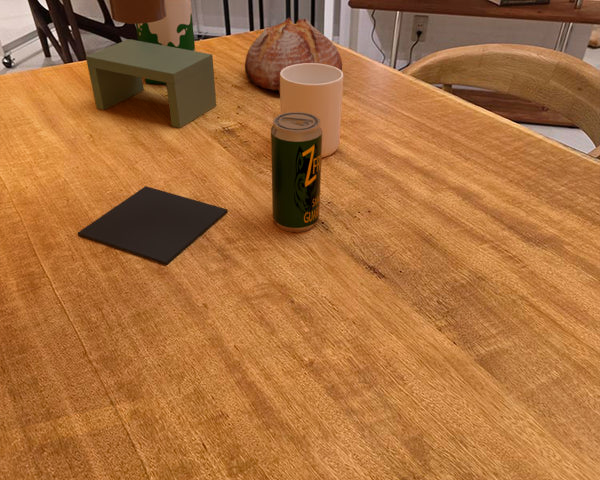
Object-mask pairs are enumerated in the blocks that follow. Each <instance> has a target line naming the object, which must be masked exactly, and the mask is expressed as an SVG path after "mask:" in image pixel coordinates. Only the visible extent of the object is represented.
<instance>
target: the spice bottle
mask: <svg viewBox="0 0 600 480" xmlns="http://www.w3.org/2000/svg"><path fill="white" fill-rule="evenodd" d="M107 2H108V6H109V12H110V17H111V19H112V21H114V22H117V23H120V24H121V23H122V24H129V25H136V24H141V23H150V22H155V21H159V20H162V19H164V18H165V17H166V8H165V0H108V1H107Z"/></svg>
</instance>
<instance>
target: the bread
mask: <svg viewBox="0 0 600 480" xmlns="http://www.w3.org/2000/svg"><path fill="white" fill-rule="evenodd" d="M303 63H317V64H325V65H330V66H333V67H336V68H338V69H340V70H341V71H342V72H343V60H342V57H341V55H340V52H339V50H338V48H337V46H336V45H335V43H333V41H331V40H330V39H329V38H328V36H326V35H324V34H323V33H322V32H321V31H319V30H318V29H317V28H316V27H314V26H313V25H312V24H311V22H310V21H309V20H308V19H307V18H306V17H305V18H304V19H302V18H299V19H297V20H296V23H294V22H293V20H292V18H291V17H289V16H288V17H287V18H286V19H285V20H284V21H283V22H281V23H278V24H277V25H272V26H271V27H270V28H265V29H264V30H263V31H262V32H261V34H260V35H259V36H257V37H256V39H255V40H254V41H253V42H252V43H251V45H250V46H249V48H248V51H247V53H246V56H245V61H244V71H245V74H246V76H247V78H248V79H249V80H250V81H251V83H253V84H254V85H256V86H259V87H261V88H264V89H266V90H267V89H270V91H274V92H278V93H279V94H280V72H281V71H282V69H284V68H286V67H288V66H291V65H295V64H303Z"/></svg>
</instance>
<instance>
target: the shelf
mask: <svg viewBox="0 0 600 480" xmlns="http://www.w3.org/2000/svg"><path fill="white" fill-rule="evenodd" d="M85 61H86V64H87V69H88V75H89V77H90V79H89V80H90V85H91V88H92V94H93V98H94V102H95V107H96V109H97V110H101V111H106V110H107V109H109V108H111V107H114V106H116V105H117V104H119V103H121V102H123V101H125V100H127V99H129V98H131V97H134V96H135V95H137V94H138V93H142V92H143V91H145V89H144V83H143V82H144V81H143V79H145V78H146V79H151V80H156V81H160V82H165V83H166V91H167V100H168V107H169V115H170V122H171V127H173V128H176V129H177V128H178V129H181V128H182V127H184V126H186V125H188V124H189V123H191V122H192V121H194V120H196V119H197V118H198V117H201V116H202V115H205V113H207V112H208V111H210V110H212V109H214V108H216V106H217V95H216V82H215V72H214V71H215V70H214V69H215V68H214V57H213V54H212V53H207V52H201V51H196V50H195V51H191V50H186V49H180V48H175V47H169V46H164V45H158V44H153V43H147V42H142V41H138V40H136V39H130V38H128V39H125V40H123V41H121V42H118V43H116V44H113V45H111V46H109V47H106V48H103V49H101V50H98V51H95V52H93V53H91V54H88V55H85Z"/></svg>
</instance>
